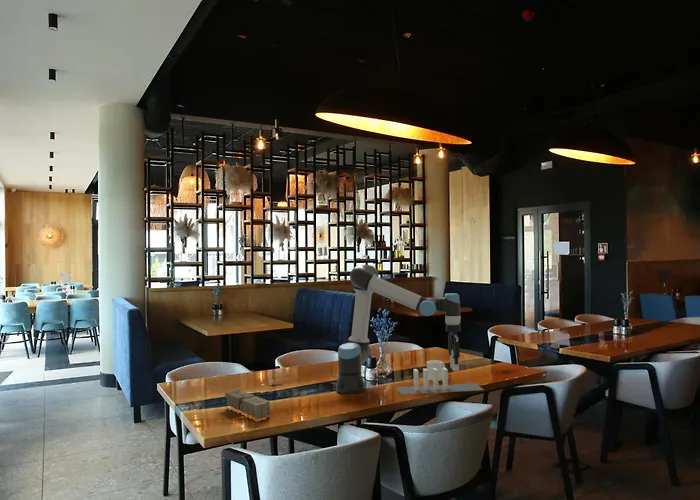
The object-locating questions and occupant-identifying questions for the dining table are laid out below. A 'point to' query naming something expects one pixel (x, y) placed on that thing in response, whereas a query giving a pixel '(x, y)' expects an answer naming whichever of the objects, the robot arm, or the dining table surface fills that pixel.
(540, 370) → the dining table surface
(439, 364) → the cup
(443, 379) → the domino
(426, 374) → the domino
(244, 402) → the grey long block
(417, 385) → the domino
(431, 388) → the slate mat
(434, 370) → the domino
